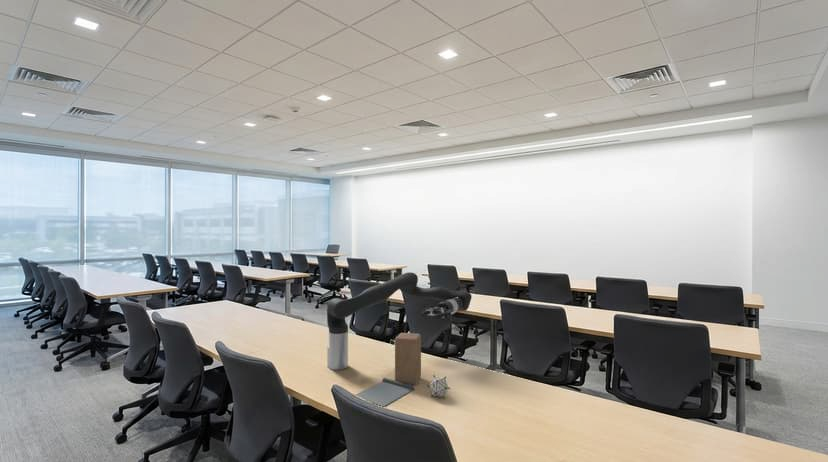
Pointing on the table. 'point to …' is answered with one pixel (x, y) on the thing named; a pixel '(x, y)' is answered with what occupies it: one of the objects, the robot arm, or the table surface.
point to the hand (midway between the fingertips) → (429, 315)
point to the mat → (386, 392)
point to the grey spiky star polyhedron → (438, 387)
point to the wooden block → (408, 358)
